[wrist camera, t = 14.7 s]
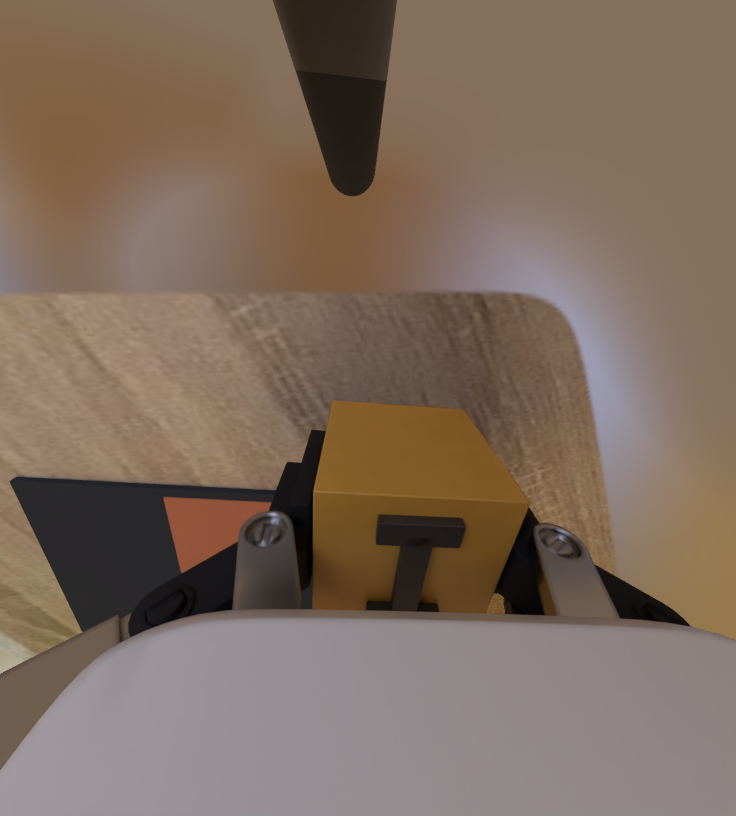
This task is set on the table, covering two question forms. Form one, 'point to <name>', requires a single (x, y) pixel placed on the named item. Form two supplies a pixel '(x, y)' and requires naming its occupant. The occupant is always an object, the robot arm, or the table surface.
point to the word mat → (130, 536)
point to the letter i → (410, 511)
